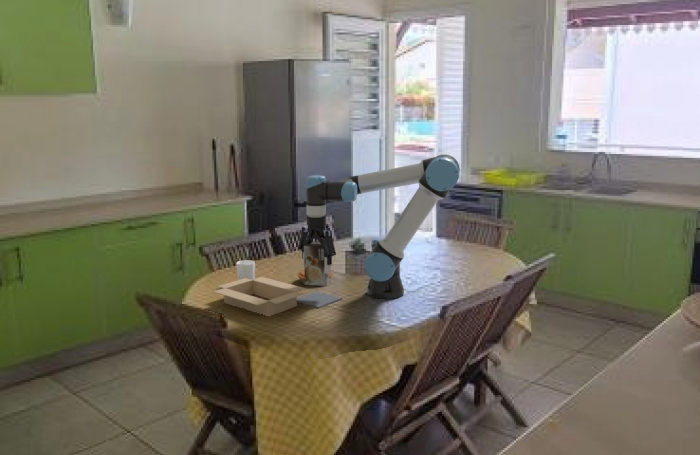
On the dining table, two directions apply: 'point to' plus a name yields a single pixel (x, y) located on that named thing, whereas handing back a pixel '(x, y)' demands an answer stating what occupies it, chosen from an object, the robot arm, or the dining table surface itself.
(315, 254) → the coffee box
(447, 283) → the dining table surface
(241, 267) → the white cup
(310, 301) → the mat
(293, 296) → the carton
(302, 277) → the pie
